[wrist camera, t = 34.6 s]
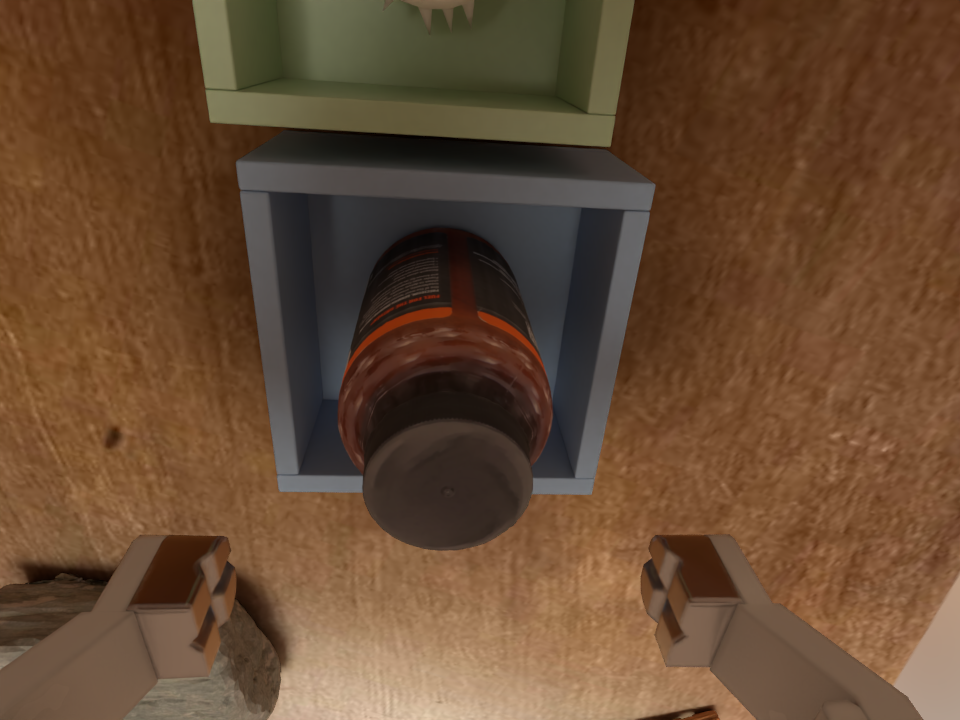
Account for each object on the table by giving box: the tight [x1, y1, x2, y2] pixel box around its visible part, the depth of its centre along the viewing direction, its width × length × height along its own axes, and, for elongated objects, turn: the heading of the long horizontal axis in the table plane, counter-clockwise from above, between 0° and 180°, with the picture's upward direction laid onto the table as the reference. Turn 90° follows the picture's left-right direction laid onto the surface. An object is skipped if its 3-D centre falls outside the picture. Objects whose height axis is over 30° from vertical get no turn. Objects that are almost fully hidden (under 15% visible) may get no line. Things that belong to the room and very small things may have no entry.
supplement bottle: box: [338, 227, 553, 550], centre depth 18 cm, size 6×6×11 cm
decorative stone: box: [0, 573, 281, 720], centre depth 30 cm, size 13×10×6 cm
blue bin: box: [236, 130, 655, 495], centre depth 21 cm, size 12×12×6 cm
